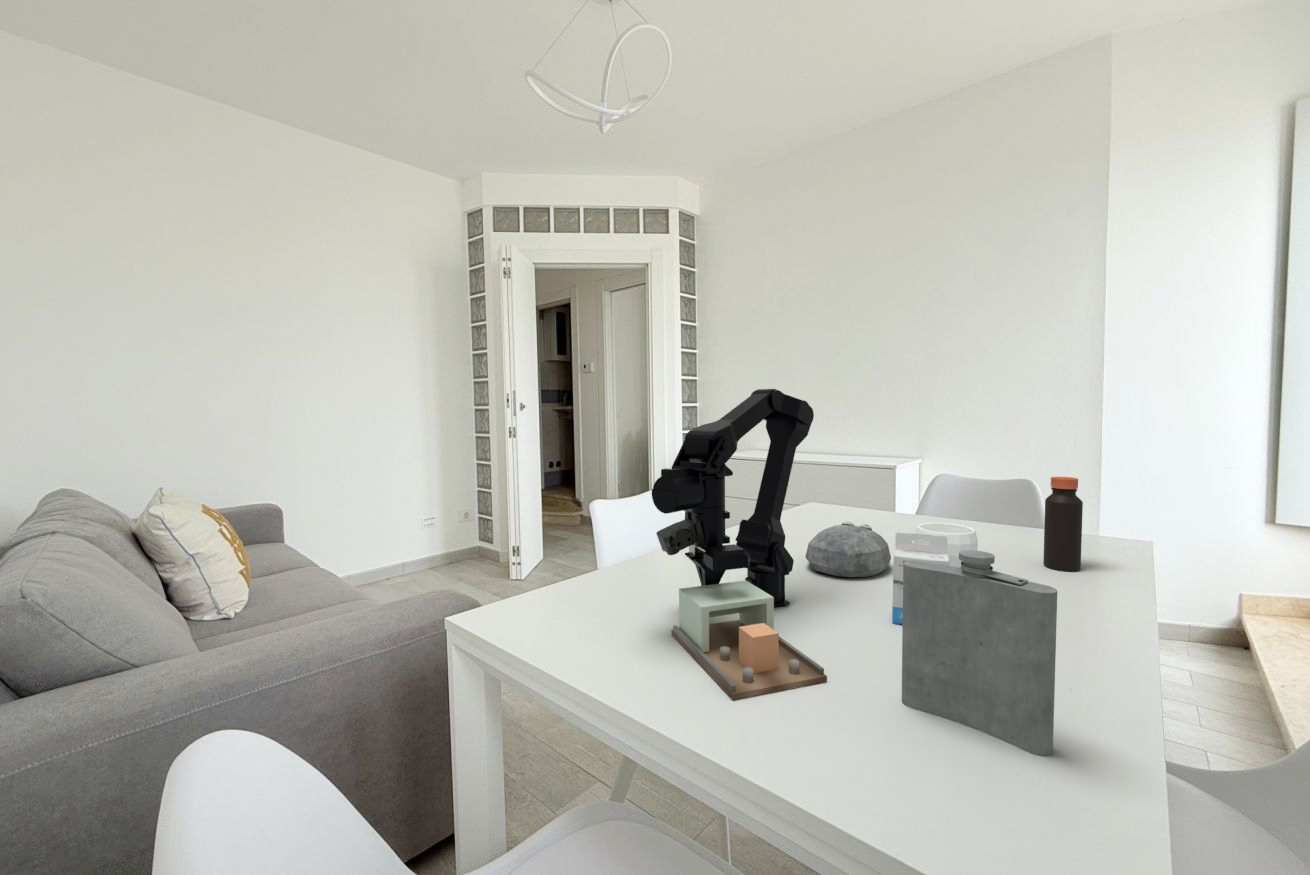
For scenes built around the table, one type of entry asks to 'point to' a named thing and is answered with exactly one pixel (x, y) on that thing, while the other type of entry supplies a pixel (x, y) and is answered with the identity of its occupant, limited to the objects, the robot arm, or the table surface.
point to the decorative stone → (848, 551)
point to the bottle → (1063, 525)
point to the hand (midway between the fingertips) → (708, 597)
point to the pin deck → (742, 679)
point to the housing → (722, 608)
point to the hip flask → (981, 649)
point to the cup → (950, 538)
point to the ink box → (914, 552)
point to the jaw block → (759, 647)
